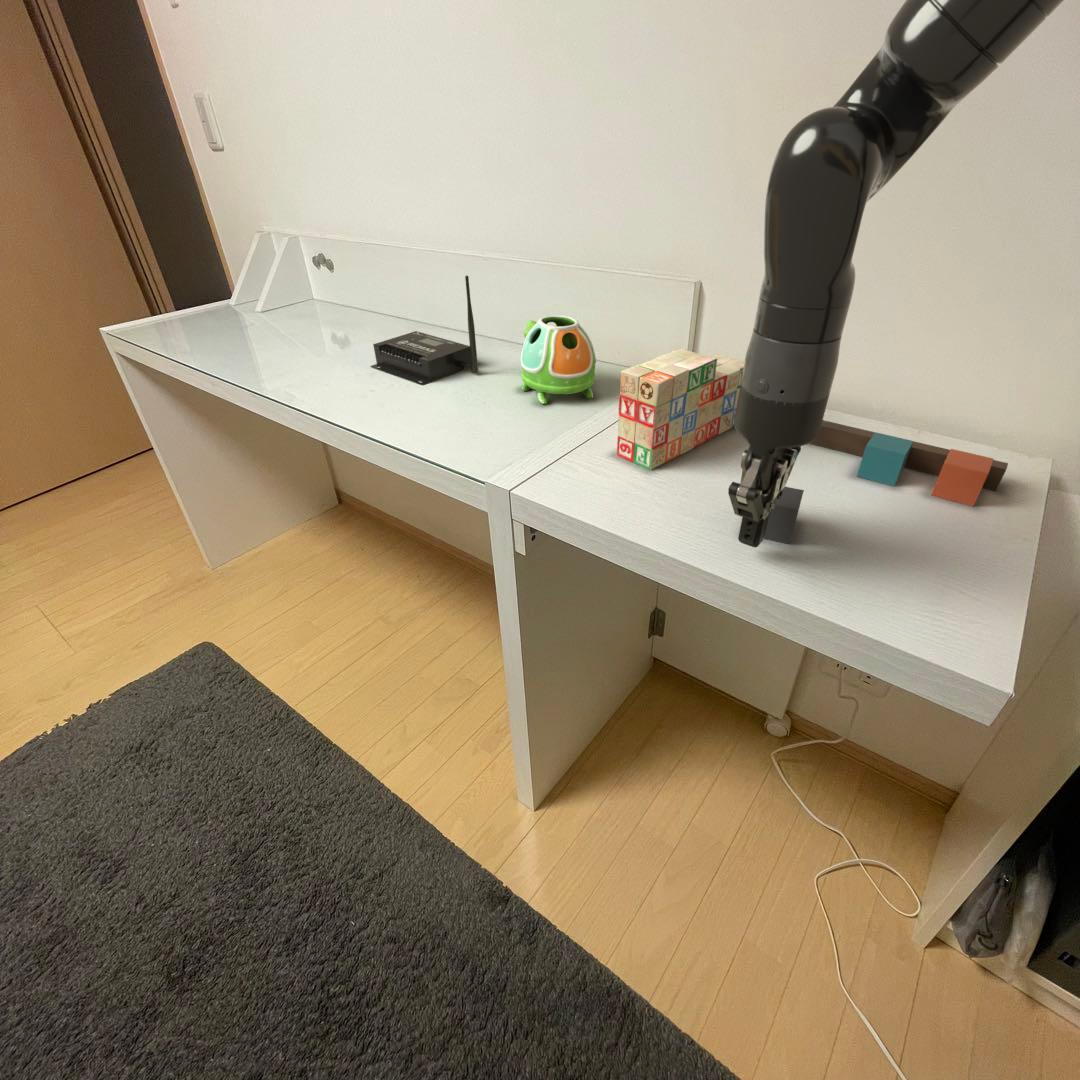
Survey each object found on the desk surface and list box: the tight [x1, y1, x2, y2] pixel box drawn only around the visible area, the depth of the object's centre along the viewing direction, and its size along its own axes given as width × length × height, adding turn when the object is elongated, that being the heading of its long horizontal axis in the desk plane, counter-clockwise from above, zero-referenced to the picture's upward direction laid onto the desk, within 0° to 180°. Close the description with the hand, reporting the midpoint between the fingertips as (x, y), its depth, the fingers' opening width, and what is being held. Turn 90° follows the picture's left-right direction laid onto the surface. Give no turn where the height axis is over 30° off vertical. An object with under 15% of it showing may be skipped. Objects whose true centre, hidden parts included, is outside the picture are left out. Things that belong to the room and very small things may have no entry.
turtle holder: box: [520, 314, 597, 405], centre depth 103 cm, size 12×18×12 cm
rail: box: [809, 419, 1009, 492], centre depth 81 cm, size 24×2×3 cm, turn 52°
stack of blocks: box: [616, 348, 745, 471], centre depth 85 cm, size 21×6×12 cm, turn 131°
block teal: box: [856, 431, 914, 487], centre depth 78 cm, size 4×4×4 cm
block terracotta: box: [930, 448, 995, 507], centre depth 74 cm, size 4×4×4 cm
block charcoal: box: [763, 486, 805, 545], centre depth 68 cm, size 4×4×4 cm
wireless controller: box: [369, 275, 479, 386], centre depth 111 cm, size 20×14×17 cm
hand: (750, 541), depth 64 cm, fingers closed
